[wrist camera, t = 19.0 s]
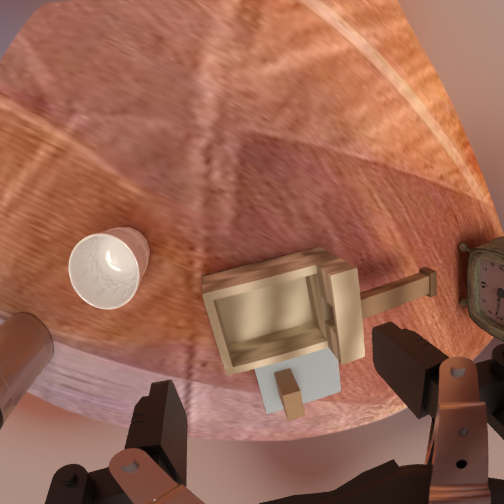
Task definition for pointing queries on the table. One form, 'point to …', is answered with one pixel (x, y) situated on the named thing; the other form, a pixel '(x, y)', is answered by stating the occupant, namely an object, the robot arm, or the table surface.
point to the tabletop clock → (486, 286)
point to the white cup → (109, 266)
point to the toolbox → (285, 310)
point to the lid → (298, 382)
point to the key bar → (398, 292)
